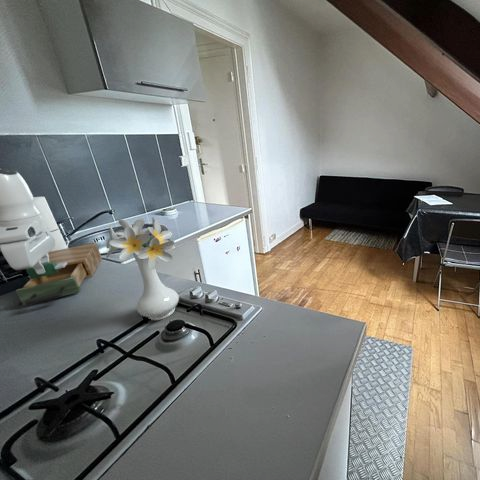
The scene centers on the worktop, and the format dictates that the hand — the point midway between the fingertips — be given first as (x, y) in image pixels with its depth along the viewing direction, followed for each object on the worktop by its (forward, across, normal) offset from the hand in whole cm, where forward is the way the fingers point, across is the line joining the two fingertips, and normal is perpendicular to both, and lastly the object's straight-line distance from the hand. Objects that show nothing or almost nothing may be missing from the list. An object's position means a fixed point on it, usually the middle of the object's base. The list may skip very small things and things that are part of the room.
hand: (44, 270), depth 78 cm
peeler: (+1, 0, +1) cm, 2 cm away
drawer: (+7, +1, +2) cm, 7 cm away
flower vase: (+7, +32, +30) cm, 45 cm away
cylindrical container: (+8, -31, -6) cm, 33 cm away
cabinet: (+8, -14, +2) cm, 16 cm away
